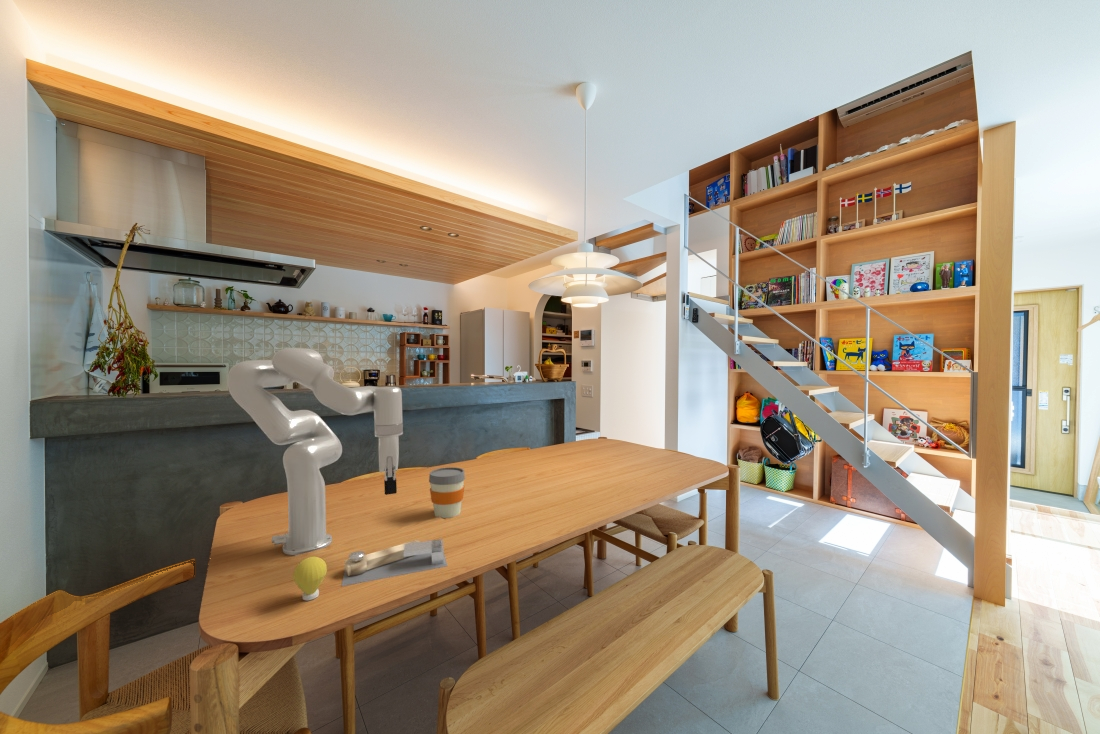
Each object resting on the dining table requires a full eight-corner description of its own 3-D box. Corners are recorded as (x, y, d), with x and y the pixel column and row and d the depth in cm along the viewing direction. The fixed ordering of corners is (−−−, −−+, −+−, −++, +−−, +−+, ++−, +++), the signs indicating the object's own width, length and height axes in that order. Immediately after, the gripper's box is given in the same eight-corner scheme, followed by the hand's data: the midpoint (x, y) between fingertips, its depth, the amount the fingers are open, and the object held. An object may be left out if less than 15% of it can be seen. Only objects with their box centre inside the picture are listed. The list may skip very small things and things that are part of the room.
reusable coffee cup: (421, 516, 142) (421, 474, 142) (446, 504, 154) (445, 465, 153) (449, 522, 137) (448, 478, 136) (472, 510, 148) (472, 469, 147)
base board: (341, 590, 97) (341, 586, 97) (347, 563, 110) (347, 560, 110) (447, 569, 106) (447, 566, 106) (441, 547, 119) (441, 544, 119)
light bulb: (333, 592, 96) (332, 550, 96) (317, 609, 90) (317, 565, 89) (304, 593, 96) (303, 551, 96) (287, 610, 89) (286, 566, 89)
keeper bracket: (403, 569, 105) (403, 552, 105) (404, 559, 110) (404, 543, 110) (443, 563, 108) (443, 546, 108) (442, 554, 112) (442, 538, 112)
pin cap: (348, 564, 102) (348, 559, 102) (349, 557, 105) (349, 552, 105) (364, 561, 103) (364, 556, 103) (364, 555, 106) (364, 550, 106)
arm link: (348, 577, 100) (348, 568, 100) (343, 569, 104) (343, 560, 104) (423, 553, 112) (423, 545, 112) (416, 546, 116) (416, 538, 116)
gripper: (375, 427, 121) (377, 487, 122) (373, 435, 108) (375, 503, 108) (402, 425, 124) (403, 484, 125) (403, 433, 110) (405, 499, 111)
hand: (390, 493), depth 116 cm, fingers closed
